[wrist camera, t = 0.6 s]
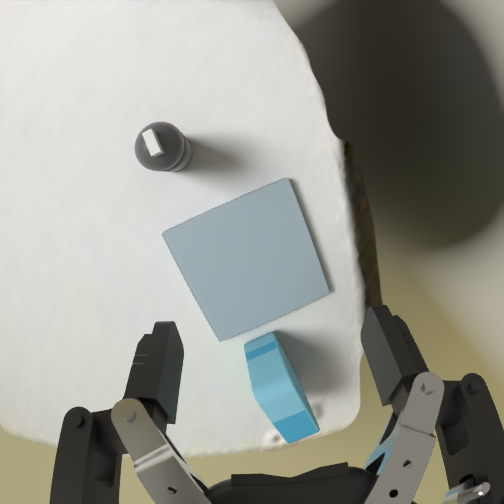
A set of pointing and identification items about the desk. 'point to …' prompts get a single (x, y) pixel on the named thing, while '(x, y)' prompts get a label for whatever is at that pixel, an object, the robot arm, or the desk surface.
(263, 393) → the data package
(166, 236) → the plate
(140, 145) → the dark grey bottle
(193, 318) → the desk surface
